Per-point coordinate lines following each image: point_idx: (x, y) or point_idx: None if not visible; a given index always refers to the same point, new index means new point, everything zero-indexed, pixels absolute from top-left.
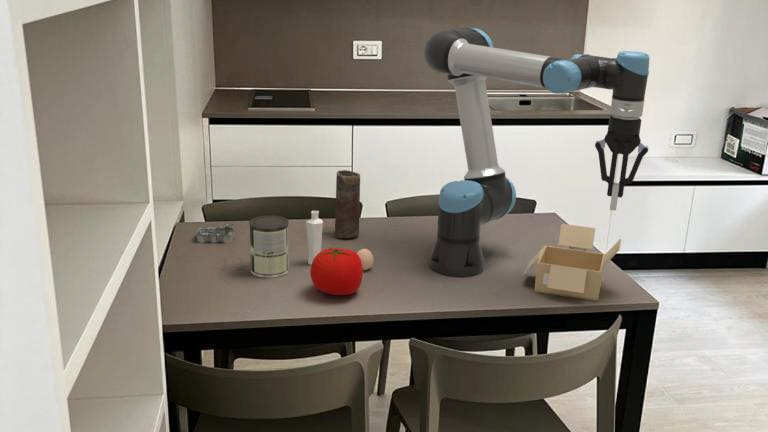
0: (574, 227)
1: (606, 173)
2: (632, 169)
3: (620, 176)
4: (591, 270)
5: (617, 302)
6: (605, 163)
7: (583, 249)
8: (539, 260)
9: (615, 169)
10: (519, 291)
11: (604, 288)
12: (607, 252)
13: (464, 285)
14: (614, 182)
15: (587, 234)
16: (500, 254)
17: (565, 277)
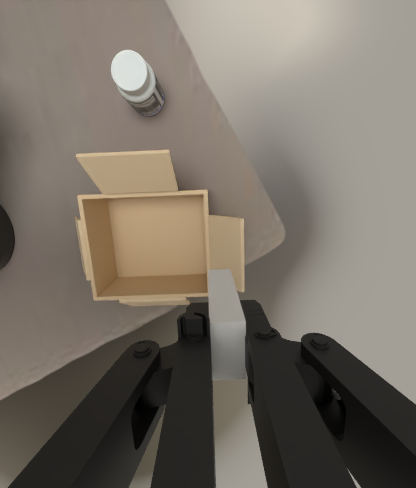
0: (114, 160)
1: (147, 380)
2: None
3: (257, 429)
4: (193, 294)
5: None
6: (92, 477)
7: (153, 100)
8: (93, 286)
9: (214, 451)
10: None
11: None
12: (213, 218)
13: (15, 299)
14: (213, 325)
15: (155, 168)
16: (6, 133)
17: (154, 303)
